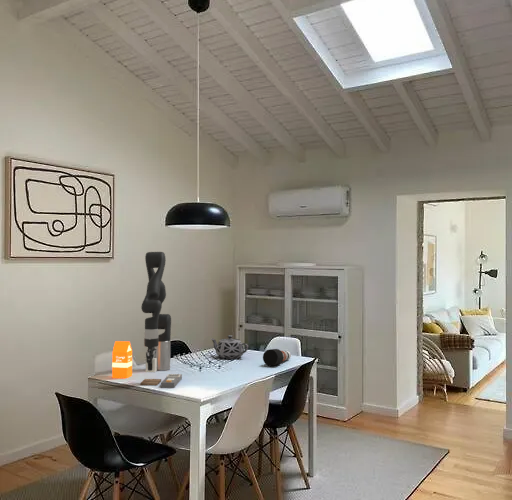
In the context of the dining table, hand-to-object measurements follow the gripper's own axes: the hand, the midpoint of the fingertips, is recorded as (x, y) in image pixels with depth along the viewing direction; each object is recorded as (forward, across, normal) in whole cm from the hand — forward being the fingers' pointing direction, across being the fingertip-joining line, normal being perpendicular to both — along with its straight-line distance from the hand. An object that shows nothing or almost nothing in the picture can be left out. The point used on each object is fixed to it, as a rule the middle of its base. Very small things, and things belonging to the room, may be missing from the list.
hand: (151, 369), depth 296 cm
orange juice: (+8, -15, -20) cm, 26 cm away
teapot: (+7, -82, +34) cm, 89 cm away
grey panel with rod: (+7, -5, +11) cm, 14 cm away
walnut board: (+7, 0, 0) cm, 7 cm away
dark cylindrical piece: (+8, -66, +69) cm, 95 cm away
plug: (+1, 0, 0) cm, 1 cm away
